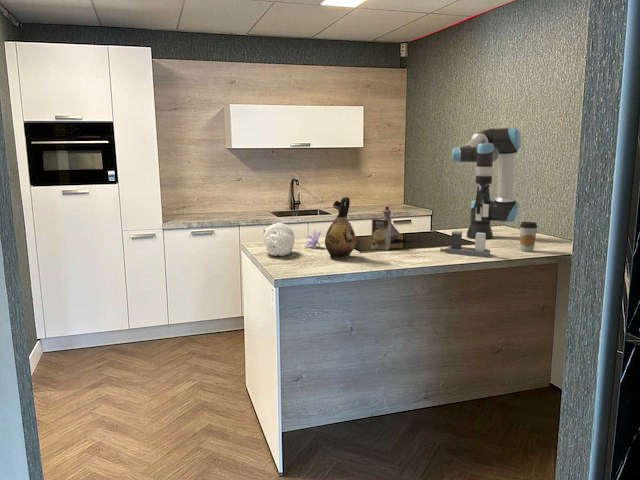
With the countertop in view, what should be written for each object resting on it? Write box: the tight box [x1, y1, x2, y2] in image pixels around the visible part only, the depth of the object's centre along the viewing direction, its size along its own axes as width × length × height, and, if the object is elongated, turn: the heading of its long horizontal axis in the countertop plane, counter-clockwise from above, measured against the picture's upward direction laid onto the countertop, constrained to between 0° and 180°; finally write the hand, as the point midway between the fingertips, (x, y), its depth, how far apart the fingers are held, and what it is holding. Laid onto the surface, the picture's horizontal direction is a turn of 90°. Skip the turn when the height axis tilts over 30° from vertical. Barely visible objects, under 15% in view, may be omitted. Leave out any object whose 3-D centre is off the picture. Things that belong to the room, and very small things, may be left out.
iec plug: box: [474, 233, 487, 252], centre depth 252 cm, size 4×4×11 cm
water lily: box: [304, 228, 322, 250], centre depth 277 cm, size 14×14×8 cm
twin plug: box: [450, 230, 463, 249], centre depth 258 cm, size 4×4×11 cm
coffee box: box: [371, 217, 392, 251], centre depth 272 cm, size 9×6×16 cm
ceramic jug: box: [324, 196, 357, 260], centre depth 250 cm, size 17×15×30 cm
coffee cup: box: [519, 221, 538, 253], centre depth 264 cm, size 8×8×15 cm
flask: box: [382, 205, 401, 243], centre depth 295 cm, size 16×16×20 cm
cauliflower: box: [262, 222, 296, 257], centre depth 259 cm, size 20×18×16 cm
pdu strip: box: [439, 245, 491, 259], centre depth 257 cm, size 9×24×4 cm, turn 59°
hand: (481, 218), depth 250 cm, fingers open, 13 cm apart
